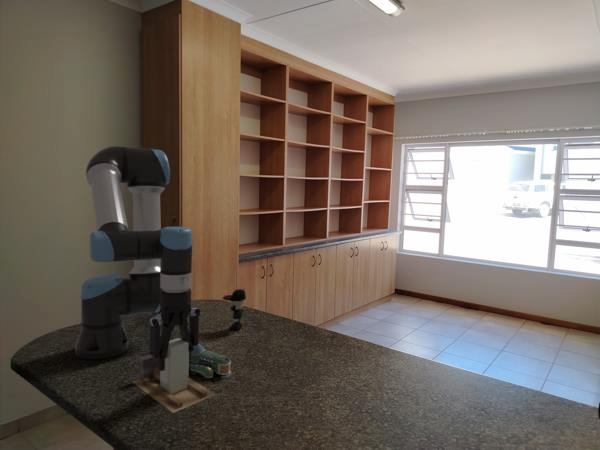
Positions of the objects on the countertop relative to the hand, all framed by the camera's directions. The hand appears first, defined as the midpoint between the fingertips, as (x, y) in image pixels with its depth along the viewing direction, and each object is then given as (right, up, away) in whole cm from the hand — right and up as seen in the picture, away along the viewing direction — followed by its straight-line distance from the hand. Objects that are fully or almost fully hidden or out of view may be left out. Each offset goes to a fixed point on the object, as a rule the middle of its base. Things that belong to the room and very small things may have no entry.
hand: (174, 377), depth 104 cm
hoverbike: (+1, -3, +14) cm, 14 cm away
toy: (+7, 0, +48) cm, 49 cm away
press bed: (-1, -4, +1) cm, 4 cm away
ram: (0, -3, 0) cm, 3 cm away
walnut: (-5, -2, +4) cm, 7 cm away
